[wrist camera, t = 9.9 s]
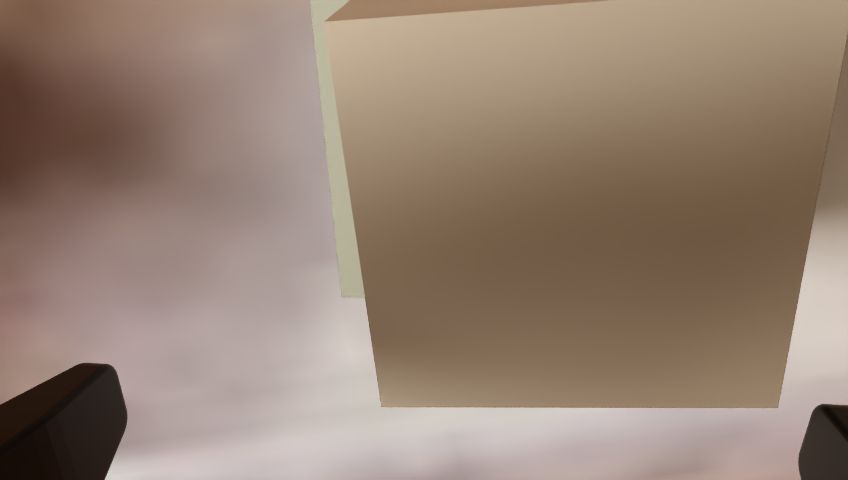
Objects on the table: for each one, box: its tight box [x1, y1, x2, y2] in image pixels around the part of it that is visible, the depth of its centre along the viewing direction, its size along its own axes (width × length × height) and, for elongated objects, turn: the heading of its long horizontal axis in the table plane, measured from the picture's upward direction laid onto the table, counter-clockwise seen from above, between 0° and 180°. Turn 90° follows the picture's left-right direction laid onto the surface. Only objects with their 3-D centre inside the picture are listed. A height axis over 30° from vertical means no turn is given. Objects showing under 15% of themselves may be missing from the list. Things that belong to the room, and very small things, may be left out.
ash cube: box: [324, 0, 848, 408], centre depth 12 cm, size 6×6×6 cm
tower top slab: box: [310, 0, 365, 298], centre depth 16 cm, size 10×10×2 cm
